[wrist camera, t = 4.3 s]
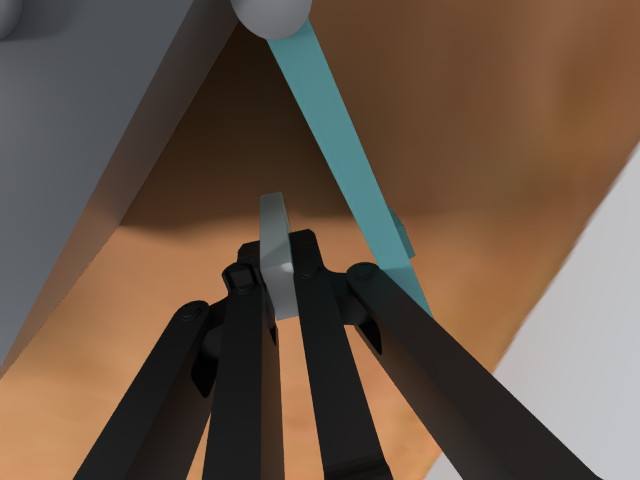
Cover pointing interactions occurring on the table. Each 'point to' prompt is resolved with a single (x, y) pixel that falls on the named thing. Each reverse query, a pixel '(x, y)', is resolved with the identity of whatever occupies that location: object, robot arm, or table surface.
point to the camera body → (85, 131)
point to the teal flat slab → (333, 130)
